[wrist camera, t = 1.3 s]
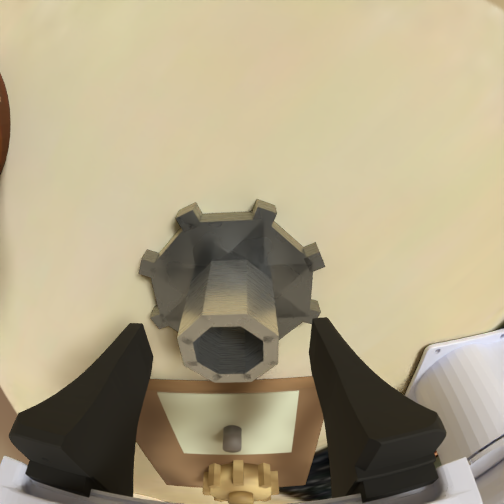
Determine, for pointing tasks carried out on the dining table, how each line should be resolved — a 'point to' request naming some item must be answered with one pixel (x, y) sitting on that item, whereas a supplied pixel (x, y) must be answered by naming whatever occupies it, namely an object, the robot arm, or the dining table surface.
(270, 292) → the planet gear
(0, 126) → the food container
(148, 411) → the carrier board
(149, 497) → the bottle
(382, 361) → the dining table surface
